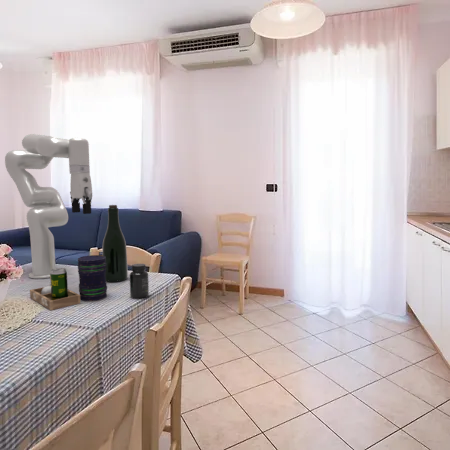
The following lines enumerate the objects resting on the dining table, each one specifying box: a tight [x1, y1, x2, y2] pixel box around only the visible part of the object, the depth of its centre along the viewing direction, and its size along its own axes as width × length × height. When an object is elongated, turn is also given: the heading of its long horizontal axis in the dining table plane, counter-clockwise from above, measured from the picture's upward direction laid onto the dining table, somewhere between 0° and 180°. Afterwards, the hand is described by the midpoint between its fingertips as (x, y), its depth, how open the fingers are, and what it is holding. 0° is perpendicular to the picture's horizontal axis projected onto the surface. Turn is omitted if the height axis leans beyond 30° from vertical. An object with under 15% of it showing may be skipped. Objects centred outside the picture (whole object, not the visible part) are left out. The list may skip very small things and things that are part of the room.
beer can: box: [50, 267, 69, 300], centre depth 126 cm, size 5×5×12 cm
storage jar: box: [77, 254, 108, 302], centre depth 133 cm, size 10×10×15 cm
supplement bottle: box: [129, 263, 150, 300], centre depth 135 cm, size 7×7×12 cm
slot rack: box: [29, 286, 81, 311], centre depth 130 cm, size 19×10×3 cm, turn 47°
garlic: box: [41, 282, 51, 295], centre depth 133 cm, size 6×5×5 cm
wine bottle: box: [101, 204, 129, 283], centre depth 157 cm, size 10×10×33 cm
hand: (81, 213), depth 145 cm, fingers open, 9 cm apart
